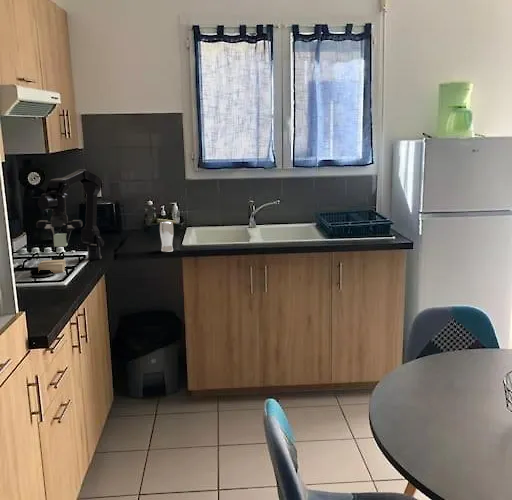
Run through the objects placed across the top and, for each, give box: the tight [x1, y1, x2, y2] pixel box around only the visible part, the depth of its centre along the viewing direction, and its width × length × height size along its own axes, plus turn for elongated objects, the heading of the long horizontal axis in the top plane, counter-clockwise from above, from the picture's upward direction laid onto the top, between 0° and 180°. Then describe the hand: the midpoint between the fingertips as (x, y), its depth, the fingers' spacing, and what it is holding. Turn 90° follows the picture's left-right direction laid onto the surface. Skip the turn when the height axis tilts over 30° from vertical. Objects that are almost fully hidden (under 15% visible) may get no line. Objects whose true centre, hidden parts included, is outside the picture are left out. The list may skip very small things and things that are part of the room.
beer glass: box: [159, 221, 174, 253], centre depth 298 cm, size 7×7×15 cm
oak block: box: [37, 259, 67, 274], centre depth 254 cm, size 10×10×4 cm
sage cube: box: [53, 233, 69, 248], centre depth 255 cm, size 5×5×5 cm
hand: (60, 243), depth 255 cm, fingers closed on sage cube, 5 cm apart
